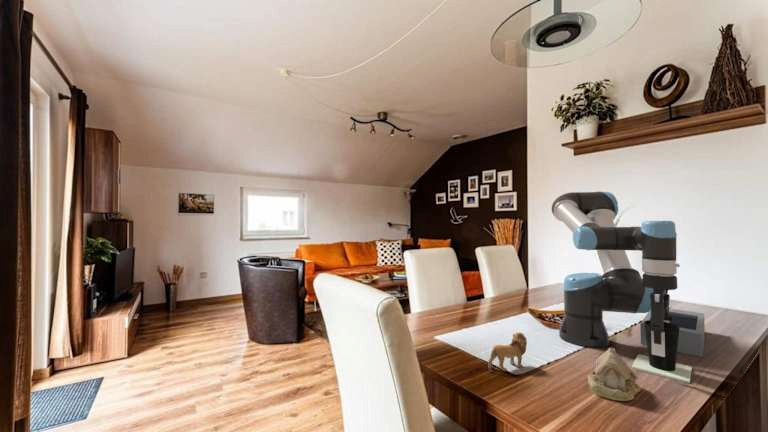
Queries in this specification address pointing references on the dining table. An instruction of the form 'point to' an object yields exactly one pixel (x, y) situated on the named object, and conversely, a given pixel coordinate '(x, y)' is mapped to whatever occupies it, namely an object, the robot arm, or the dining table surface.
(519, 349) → the lion figurine
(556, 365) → the dining table surface
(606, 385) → the ceramic model
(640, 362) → the mat
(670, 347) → the cup
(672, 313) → the slot box
